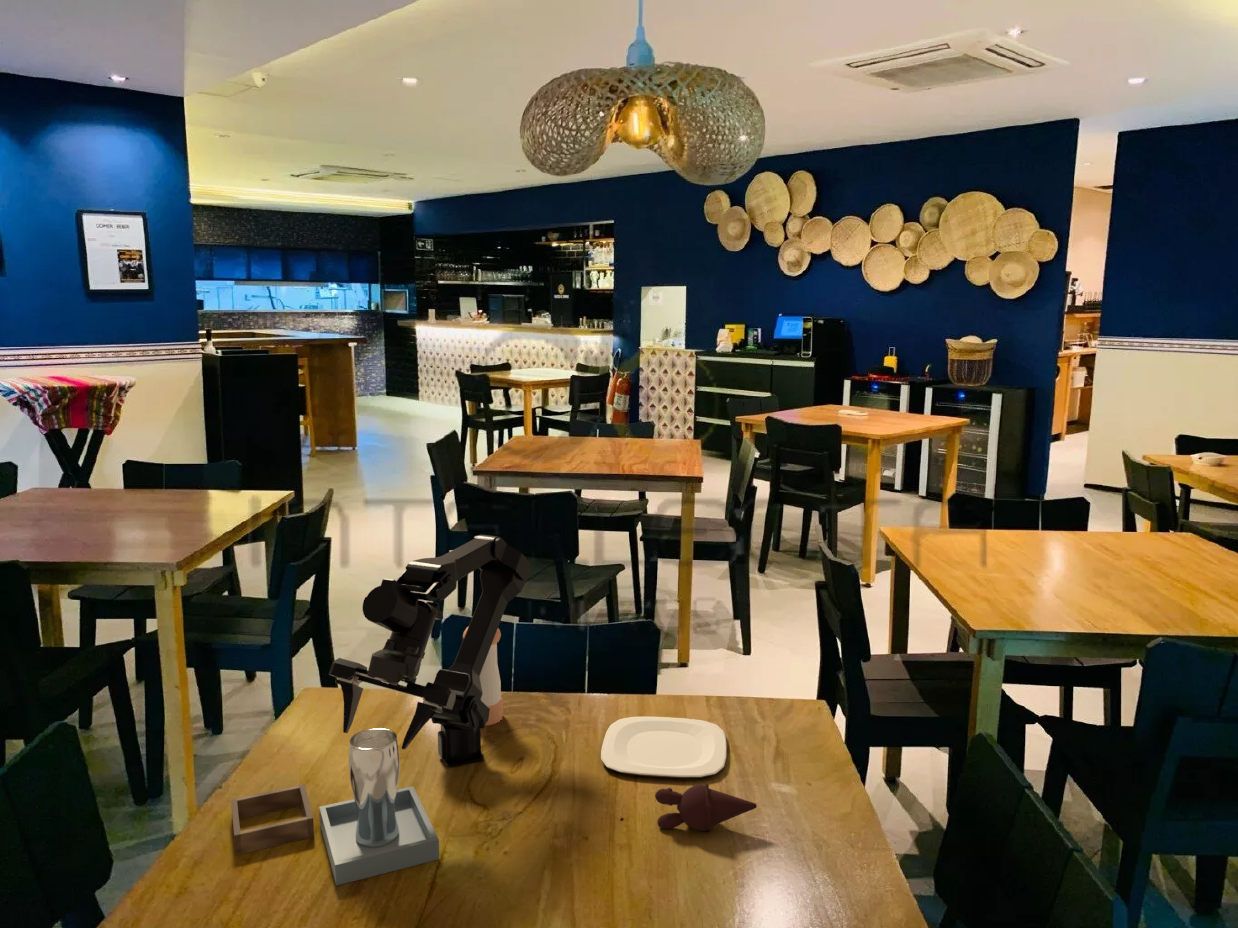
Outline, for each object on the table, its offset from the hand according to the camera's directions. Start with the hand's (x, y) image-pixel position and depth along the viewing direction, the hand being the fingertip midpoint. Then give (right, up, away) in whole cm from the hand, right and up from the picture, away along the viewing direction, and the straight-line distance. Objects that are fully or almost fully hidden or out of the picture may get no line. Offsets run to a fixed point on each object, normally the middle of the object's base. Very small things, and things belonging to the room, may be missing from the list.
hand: (374, 741), depth 134 cm
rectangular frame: (-15, -13, 0) cm, 20 cm away
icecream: (+50, -13, 0) cm, 51 cm away
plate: (+45, -10, +24) cm, 52 cm away
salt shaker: (+11, -7, +37) cm, 39 cm away
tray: (+2, -13, -4) cm, 14 cm away
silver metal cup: (+2, -13, -4) cm, 13 cm away
